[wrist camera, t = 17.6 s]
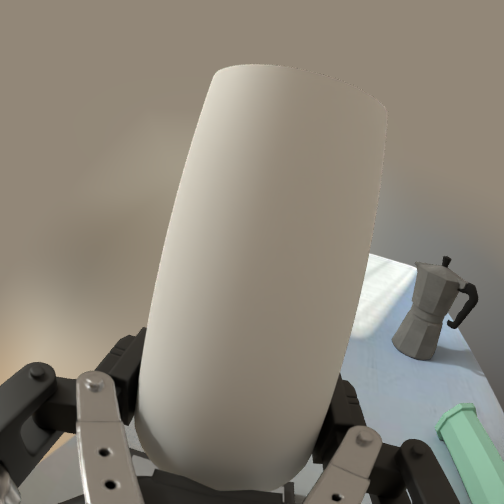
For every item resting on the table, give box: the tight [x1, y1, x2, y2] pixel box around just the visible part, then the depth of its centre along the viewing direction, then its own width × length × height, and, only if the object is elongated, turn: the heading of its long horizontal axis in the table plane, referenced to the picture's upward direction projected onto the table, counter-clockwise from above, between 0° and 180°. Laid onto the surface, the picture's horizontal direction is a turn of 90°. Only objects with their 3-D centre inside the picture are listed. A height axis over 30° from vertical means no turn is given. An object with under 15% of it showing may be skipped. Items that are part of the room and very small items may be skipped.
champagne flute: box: [134, 64, 388, 492], centre depth 11 cm, size 7×7×24 cm
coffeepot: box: [392, 256, 478, 360], centre depth 49 cm, size 15×9×18 cm, turn 21°
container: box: [435, 403, 504, 504], centre depth 17 cm, size 6×6×25 cm
